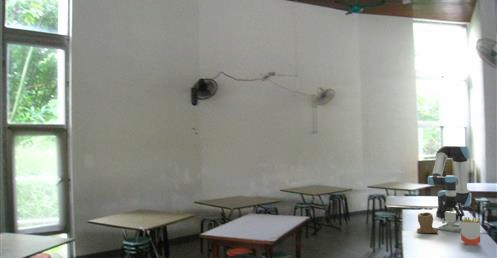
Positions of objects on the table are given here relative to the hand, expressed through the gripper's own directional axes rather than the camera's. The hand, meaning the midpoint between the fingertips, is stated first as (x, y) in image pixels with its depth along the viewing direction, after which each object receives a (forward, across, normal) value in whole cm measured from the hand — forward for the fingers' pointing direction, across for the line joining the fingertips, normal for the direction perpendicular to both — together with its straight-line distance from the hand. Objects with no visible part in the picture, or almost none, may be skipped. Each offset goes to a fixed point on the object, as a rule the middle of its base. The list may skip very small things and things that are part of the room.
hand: (451, 224), depth 320 cm
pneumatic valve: (+2, -1, 0) cm, 2 cm away
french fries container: (+4, +24, -37) cm, 44 cm away
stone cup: (+4, -9, -24) cm, 26 cm away
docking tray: (+4, 0, 0) cm, 4 cm away
